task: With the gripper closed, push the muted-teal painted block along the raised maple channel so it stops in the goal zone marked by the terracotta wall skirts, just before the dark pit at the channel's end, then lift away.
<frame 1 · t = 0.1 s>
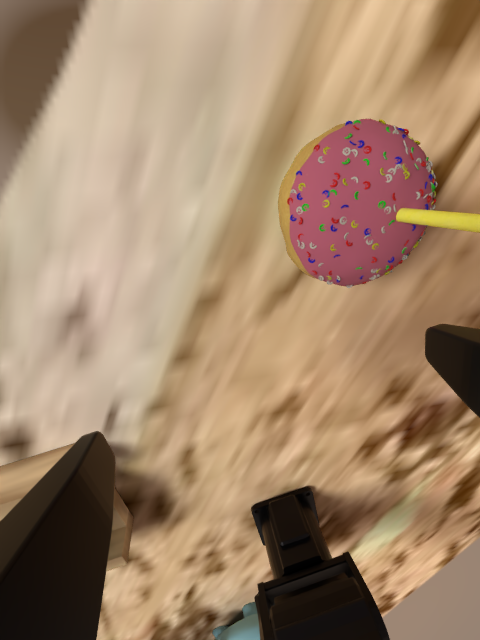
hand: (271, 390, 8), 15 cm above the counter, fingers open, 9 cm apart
teapot: (253, 622, 42), on the counter
cupcake: (320, 205, 21), on the counter
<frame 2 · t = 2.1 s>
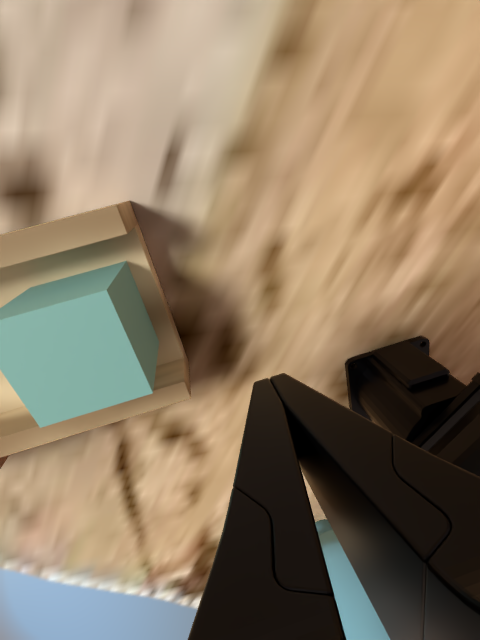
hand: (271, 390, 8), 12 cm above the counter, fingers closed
teapot: (319, 551, 33), on the counter
block: (99, 316, 17), point 1 cm above the counter, touching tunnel
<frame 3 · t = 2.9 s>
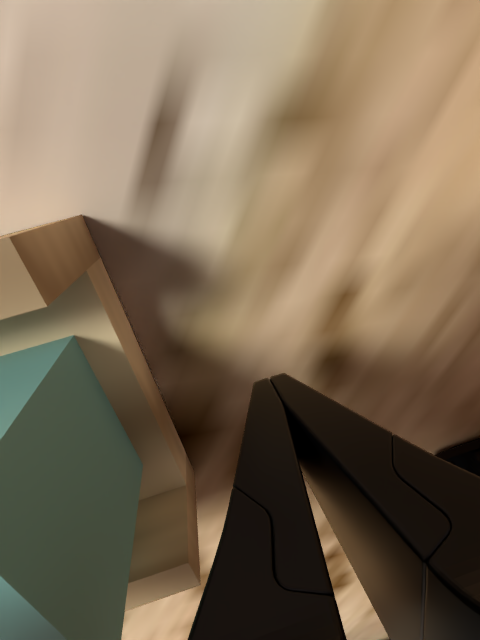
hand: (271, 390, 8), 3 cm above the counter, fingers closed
block: (27, 433, 9), point 1 cm above the counter, touching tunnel
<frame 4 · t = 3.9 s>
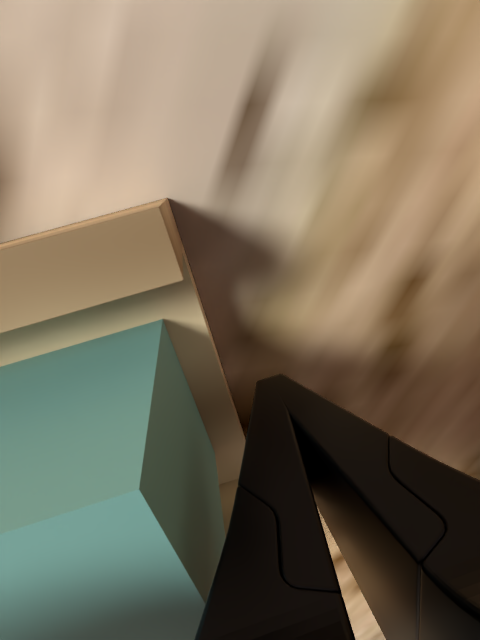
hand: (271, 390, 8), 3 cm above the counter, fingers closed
block: (108, 419, 9), point 2 cm above the counter, touching gripper, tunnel
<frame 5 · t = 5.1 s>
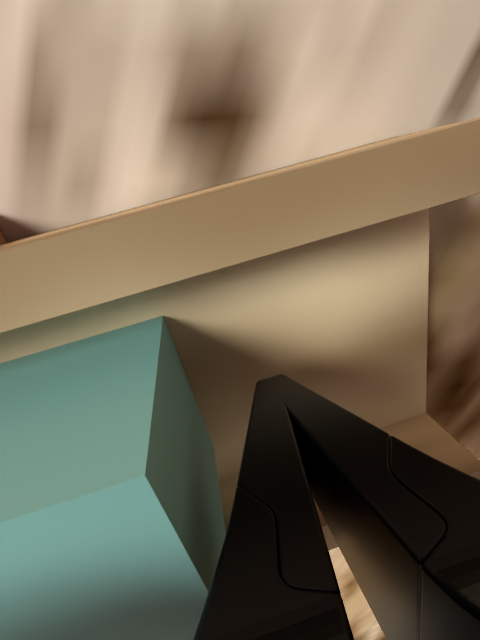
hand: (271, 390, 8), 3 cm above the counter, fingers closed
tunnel: (63, 404, 10), on the counter
block: (108, 415, 9), point 2 cm above the counter, touching gripper, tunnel
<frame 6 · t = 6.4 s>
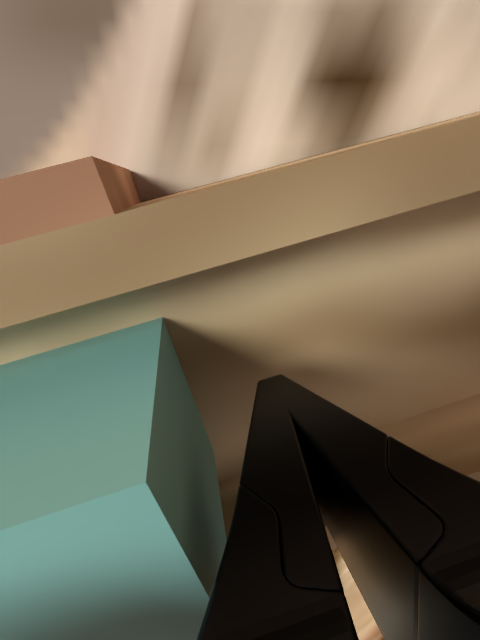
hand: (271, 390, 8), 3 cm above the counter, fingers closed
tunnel: (168, 370, 10), on the counter
block: (107, 418, 9), point 1 cm above the counter, touching gripper, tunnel
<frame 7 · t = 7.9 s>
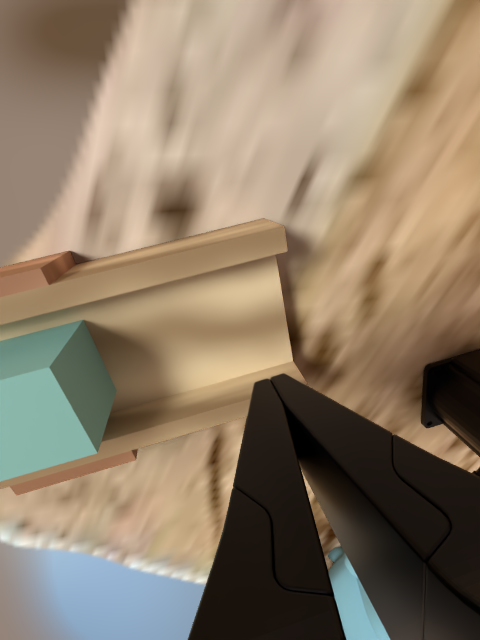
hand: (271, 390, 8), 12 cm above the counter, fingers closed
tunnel: (95, 347, 20), on the counter
teapot: (372, 547, 35), on the counter
block: (58, 368, 18), point 1 cm above the counter, touching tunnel
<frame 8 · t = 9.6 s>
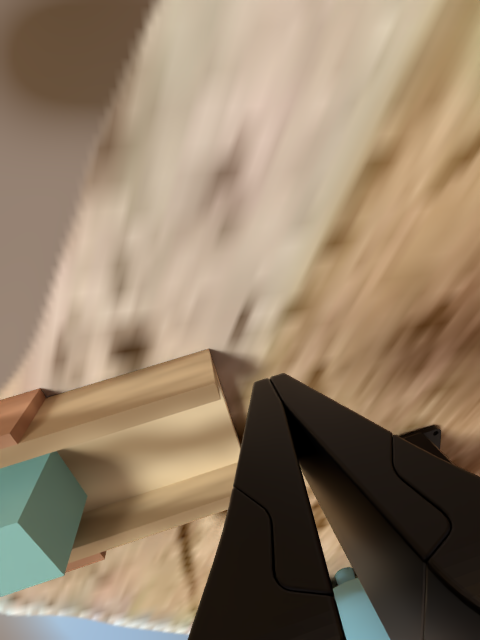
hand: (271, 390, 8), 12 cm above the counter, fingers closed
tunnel: (68, 457, 22), on the counter
teapot: (341, 592, 37), on the counter
block: (34, 484, 21), point 1 cm above the counter, touching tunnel
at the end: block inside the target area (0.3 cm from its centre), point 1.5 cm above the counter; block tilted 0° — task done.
